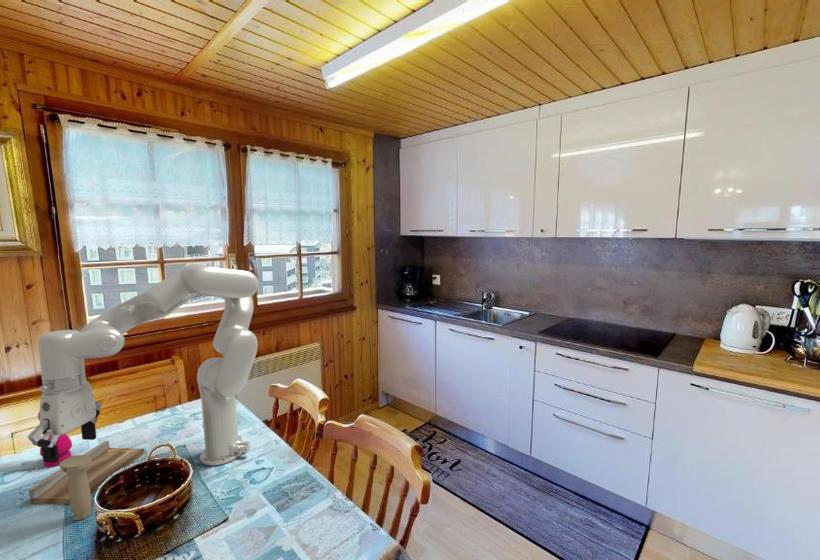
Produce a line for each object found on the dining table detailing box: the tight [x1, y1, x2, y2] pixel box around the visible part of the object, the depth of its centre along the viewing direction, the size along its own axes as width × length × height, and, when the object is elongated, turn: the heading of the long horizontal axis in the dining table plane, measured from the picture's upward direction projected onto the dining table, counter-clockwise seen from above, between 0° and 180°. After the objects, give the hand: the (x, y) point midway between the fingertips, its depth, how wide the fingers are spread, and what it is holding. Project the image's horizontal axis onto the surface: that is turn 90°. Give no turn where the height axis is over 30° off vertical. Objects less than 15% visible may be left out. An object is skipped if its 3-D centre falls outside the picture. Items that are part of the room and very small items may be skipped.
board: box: [28, 440, 145, 505], centre depth 108 cm, size 13×23×4 cm, turn 178°
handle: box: [59, 454, 92, 521], centre depth 91 cm, size 5×6×15 cm
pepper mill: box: [37, 410, 73, 468], centre depth 114 cm, size 7×7×20 cm
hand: (71, 449), depth 90 cm, fingers open, 9 cm apart
